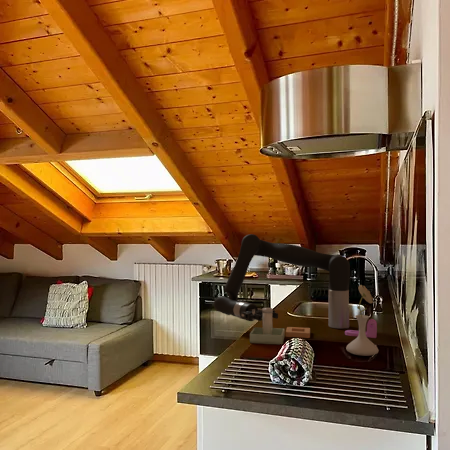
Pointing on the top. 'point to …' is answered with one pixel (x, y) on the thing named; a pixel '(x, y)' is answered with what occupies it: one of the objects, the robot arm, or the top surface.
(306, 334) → the fuse holder
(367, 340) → the flower in vase
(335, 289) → the robot arm
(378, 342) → the top surface
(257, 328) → the tray
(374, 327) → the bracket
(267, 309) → the cylinder
